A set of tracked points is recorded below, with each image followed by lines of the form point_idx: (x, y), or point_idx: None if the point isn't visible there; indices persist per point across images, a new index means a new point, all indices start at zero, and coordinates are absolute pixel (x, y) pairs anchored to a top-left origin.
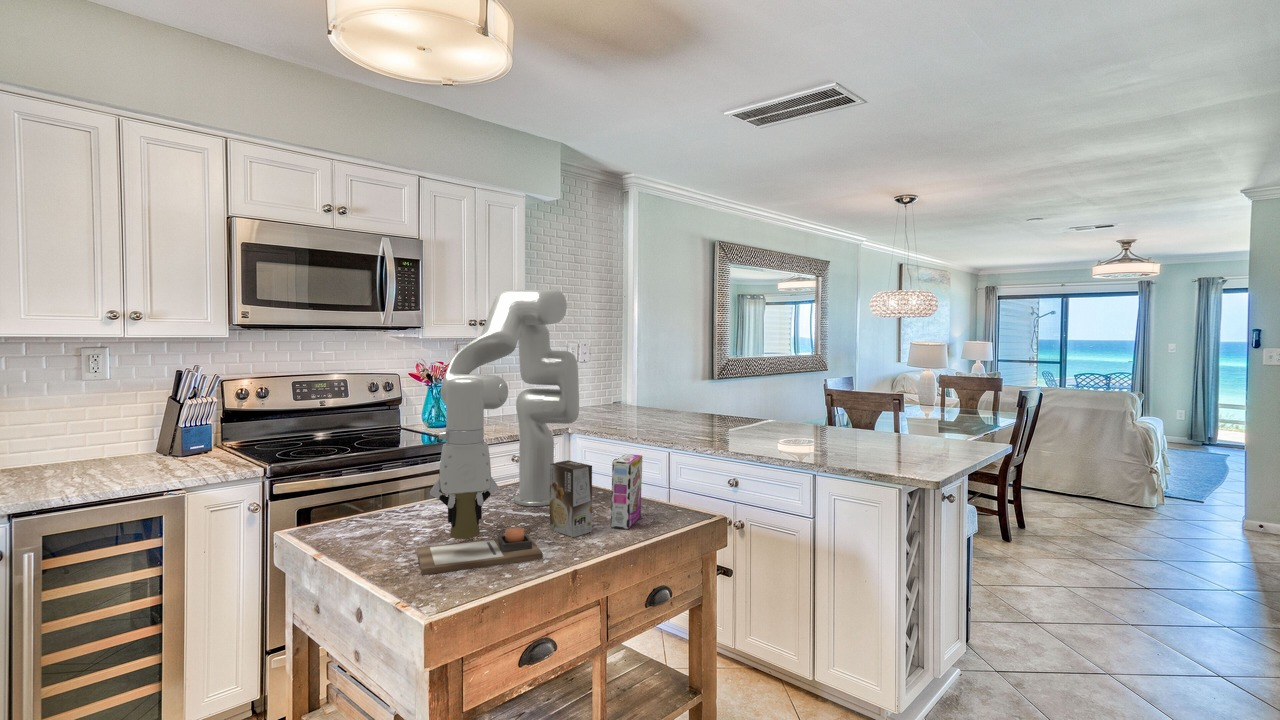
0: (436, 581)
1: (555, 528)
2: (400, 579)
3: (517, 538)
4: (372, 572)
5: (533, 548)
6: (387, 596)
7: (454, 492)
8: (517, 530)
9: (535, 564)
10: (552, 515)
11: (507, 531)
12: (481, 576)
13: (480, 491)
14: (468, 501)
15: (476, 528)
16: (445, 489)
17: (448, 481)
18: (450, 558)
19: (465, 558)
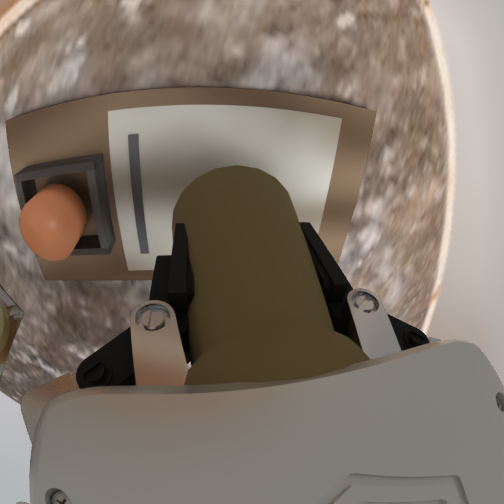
0: (345, 45)
1: (8, 302)
2: (408, 113)
3: (45, 189)
4: (430, 187)
5: (22, 167)
6: (440, 44)
7: (425, 356)
8: (37, 224)
9: (37, 75)
10: (5, 331)
11: (67, 223)
12: (212, 14)
13: (143, 389)
14: (261, 313)
15: (190, 203)
16: (482, 361)
17: (497, 422)
18: (286, 152)
19: (239, 130)
